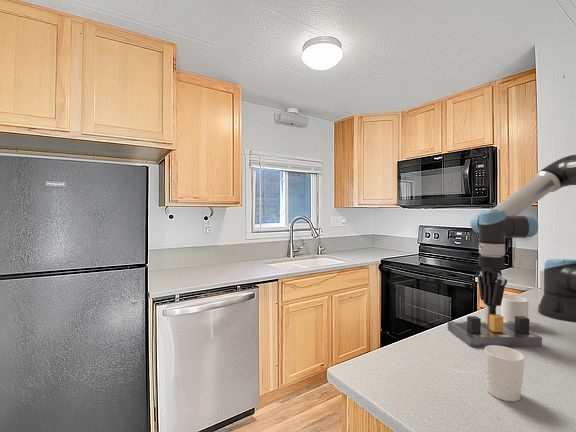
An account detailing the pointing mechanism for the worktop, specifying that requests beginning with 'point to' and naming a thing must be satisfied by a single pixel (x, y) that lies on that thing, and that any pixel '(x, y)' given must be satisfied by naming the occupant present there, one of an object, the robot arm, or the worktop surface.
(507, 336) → the panel
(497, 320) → the toggle
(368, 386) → the worktop surface
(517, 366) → the white cup
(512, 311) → the mug
